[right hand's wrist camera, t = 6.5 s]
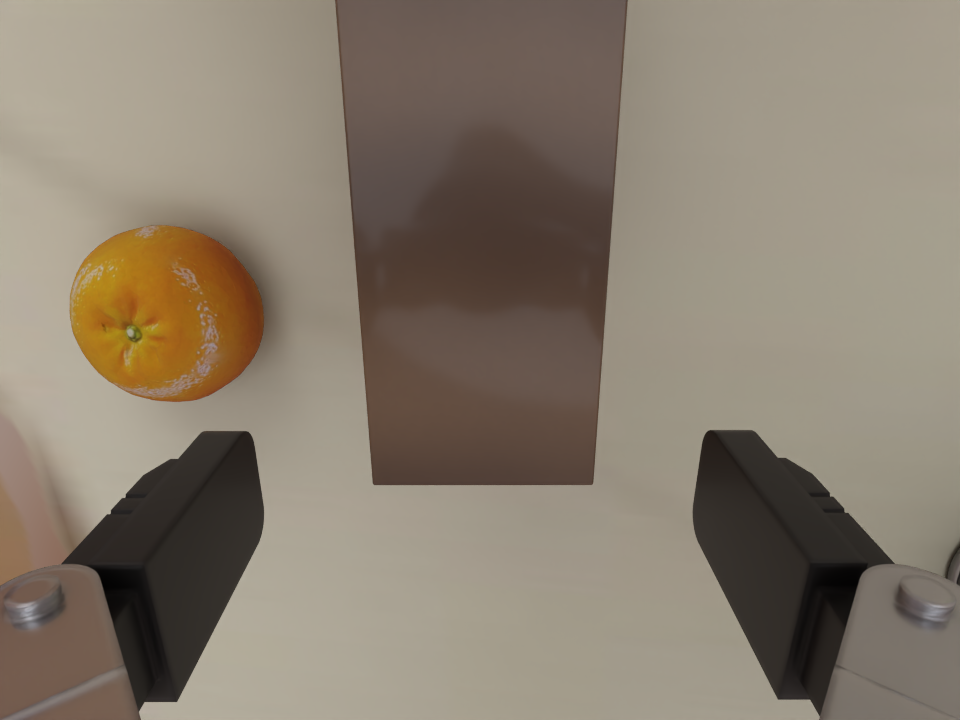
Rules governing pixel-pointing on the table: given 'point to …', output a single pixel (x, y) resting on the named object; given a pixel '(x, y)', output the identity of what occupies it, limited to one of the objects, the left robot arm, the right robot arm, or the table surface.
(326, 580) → the table surface
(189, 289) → the fruit
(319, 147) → the table surface
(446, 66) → the box
